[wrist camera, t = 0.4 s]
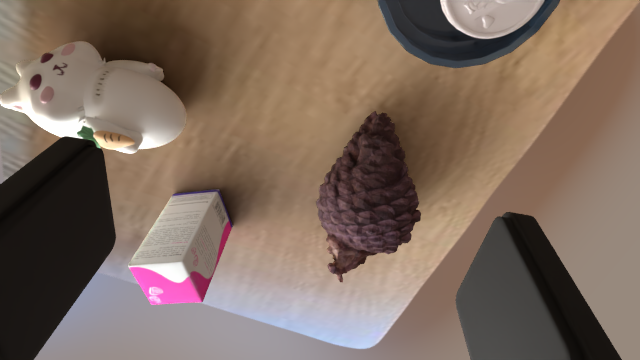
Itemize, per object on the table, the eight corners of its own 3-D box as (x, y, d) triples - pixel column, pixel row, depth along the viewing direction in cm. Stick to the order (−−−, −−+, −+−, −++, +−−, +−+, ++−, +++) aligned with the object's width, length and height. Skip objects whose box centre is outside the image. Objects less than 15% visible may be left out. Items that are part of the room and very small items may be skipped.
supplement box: (170, 193, 47) (125, 265, 37) (219, 187, 46) (185, 259, 36) (188, 231, 50) (149, 307, 40) (234, 227, 49) (206, 303, 39)
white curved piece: (169, 150, 33) (-44, 107, 30) (175, 187, 40) (4, 155, 37) (195, 57, 37) (10, 11, 34) (196, 106, 44) (44, 72, 41)
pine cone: (315, 98, 39) (376, 122, 31) (394, 106, 44) (465, 128, 36) (290, 259, 45) (337, 315, 37) (363, 250, 50) (418, 297, 42)
